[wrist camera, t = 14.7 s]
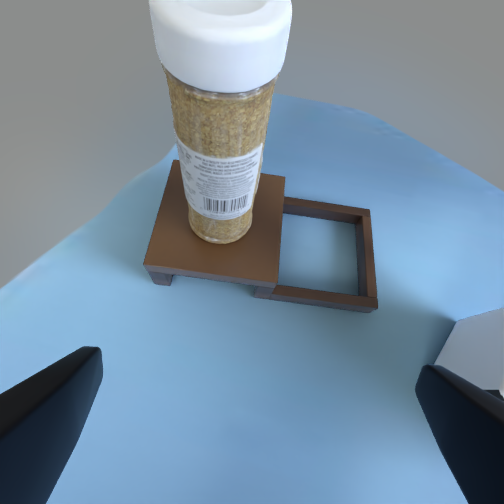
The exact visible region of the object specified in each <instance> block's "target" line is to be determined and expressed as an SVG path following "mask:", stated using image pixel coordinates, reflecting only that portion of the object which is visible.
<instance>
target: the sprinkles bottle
mask: <svg viewBox="0 0 504 504" xmlns="http://www.w3.org/2000/svg"><path fill="white" fill-rule="evenodd" d="M149 7H150V14H151V21H152V26H153V33H154V39H155V44H156V49H157V53H158V56H159V58H160V61H161V62H162V67H163V70H164V72H165V74H166V76H167V82H168V86H169V94H170V99H171V103H172V112H173V118H174V119H173V125H174V132H175V137H176V143H177V148H178V155H179V161H180V167H181V173H182V179H183V184H184V190H185V195H186V198H187V202H188V207H189V213H188V218H189V222H190V226H191V228H192V230H193V231H194V232H195V233H196V234H197V235H198V236H199V237H200V238H202V239H204V240H205V241H208V242H210V243H215V244H222V243H223V244H226V243H230V242H234V241H236V240H238V239H240V238H241V237H242V236H243V235H245V234H246V232H247V231H248V229H249V228H250V226H251V223H252V208H253V203H254V198H255V194H256V192H257V188H258V183H259V178H260V172H261V167H262V161H263V150H264V144H265V138H266V133H267V125H268V120H269V115H270V108H271V101H272V95H273V91H274V86H275V82H276V80H277V79H278V76H279V73H280V70H281V68H282V66H283V63H284V59H285V54H286V48H287V43H288V37H289V31H290V25H291V18H292V5H291V0H149Z"/></svg>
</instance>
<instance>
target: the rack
mask: <svg viewBox="0 0 504 504" xmlns="http://www.w3.org/2000/svg"><path fill="white" fill-rule="evenodd" d="M284 187H285V177H283V176H276V175H270V174H263V173H260V178H259V183H258V188H257V192H256V194H255V198H254V203H253V208H252V223H251V226H250V228H249V229H248V231H247V232H246V234H245V235H243V236H242V237H241V238H240V239H238V240H236V241H234V242H230V243H226V244H223V243H222V244H215V243H210V242H208V241H205V240H204V239H202V238H200V237H199V236H198V235H197V234H196V233H195V232H194V231H193V230H192V228H191V226H190V222H189V218H188V213H189V207H188V202H187V198H186V195H185V190H184V184H183V179H182V173H181V167H180V161H179V160H173V163H172V167H171V170H170V173H169V177H168V180H167V184H166V187H165V191H164V194H163V198H162V201H161V204H160V208H159V211H158V215H157V218H156V222H155V225H154V229H153V232H152V235H151V239H150V242H149V246H148V249H147V253H146V256H145V260H144V263H143V265H144V267H145V268H146V270H147V271H148V273H149V275H150V276H151V278H152V280H153V281H154V283H155V284H158V285H166V286H170V284H171V280H172V276H173V275H181V276H188V277H195V278H203V279H210V280H217V281H225V282H232V283H239V284H247V285H254V286H255V287H254V297H255V298H262V299H269V300H277V301H284V302H292V303H299V304H307V305H314V306H322V307H329V308H337V309H344V310H352V311H359V312H366V313H370V312H372V311H374V310H376V309H378V299H377V289H376V277H375V264H374V252H373V240H372V228H371V217H370V210H369V209H363V208H357V207H350V206H343V205H337V204H330V203H324V202H317V201H311V200H304V199H298V198H291V197H284ZM283 213H287V214H294V215H300V216H307V217H314V218H320V219H327V220H334V221H340V222H347V223H354V224H355V228H356V246H357V264H358V283H359V296H356V295H348V294H341V293H334V292H326V291H319V290H312V289H305V288H297V287H290V286H283V285H277V283H278V271H279V257H280V243H281V229H282V215H283Z"/></svg>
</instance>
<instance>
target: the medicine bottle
mask: <svg viewBox="0 0 504 504" xmlns="http://www.w3.org/2000/svg"><path fill="white" fill-rule="evenodd" d="M434 365H441V366H443V367H444V368H446V369H448V370H450V371H451V372H453V373H455V374H457V375H458V376H460V377H462V378H464V379H465V380H467V381H469V382H470V383H472V384H474V385H476V386H477V387H479V388H481V389H483V390H484V391H486V392H488V393H490V394H491V395H493V396H495V397H497V398H498V399H500V400H502V401H504V308H500V309H496V310H493V311H489V312H486V313H482V314H479V315H475V316H472V317H468V318H465V319H461V320H459V321H457V322H456V324H455V326H454V328H453V330H452V332H451V333H450V335H449V337H448V339H447V341H446V343H445V345H444V346H443V348H442V350H441V352H440V354H439V356H438V358H437V360H436V361H435V363H434Z"/></svg>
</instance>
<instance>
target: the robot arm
mask: <svg viewBox="0 0 504 504" xmlns="http://www.w3.org/2000/svg"><path fill="white" fill-rule="evenodd" d="M102 378H103V364H102V352H101V349H100V348H99V347H90V346H84V347H81V348H79V349H78V350H76V351H74V352H72V353H71V354H69V355H67V356H66V357H64V358H62V359H60V360H59V361H57V362H55V363H53V364H52V365H50V366H48V367H47V368H45V369H43V370H41V371H40V372H38V373H36V374H34V375H33V376H31V377H29V378H28V379H26V380H24V381H22V382H21V383H19V384H17V385H15V386H14V387H12V388H10V389H9V390H7V391H5V392H3V393H2V394H0V504H46V502H47V501H48V499H49V497H50V495H51V493H52V491H53V489H54V487H55V485H56V483H57V481H58V479H59V477H60V475H61V473H62V471H63V469H64V467H65V465H66V463H67V462H68V460H69V458H70V456H71V454H72V452H73V450H74V448H75V446H76V444H77V441H78V439H79V437H80V434H81V432H82V430H83V427H84V425H85V422H86V419H87V417H88V414H89V412H90V409H91V407H92V404H93V402H94V399H95V397H96V394H97V392H98V389H99V386H100V384H101V381H102ZM415 392H416V396H417V398H418V400H419V403H420V405H421V407H422V410H423V412H424V414H425V417H426V419H427V421H428V423H429V426H430V428H431V430H432V433H433V435H434V437H435V440H436V442H437V444H438V446H439V448H440V451H441V453H442V455H443V457H444V459H445V460H446V462H447V464H448V466H449V468H450V470H451V472H452V474H453V475H454V477H455V479H456V481H457V483H458V485H459V487H460V489H461V490H462V492H463V494H464V496H465V498H466V500H467V502H468V503H469V504H504V401H502V400H500V399H498V398H497V397H495V396H493V395H491V394H490V393H488V392H486V391H484V390H483V389H481V388H479V387H477V386H476V385H474V384H472V383H470V382H469V381H467V380H465V379H464V378H462V377H460V376H458V375H457V374H455V373H453V372H451V371H450V370H448V369H446V368H444V367H443V366H441V365H433V364H426V365H424V366H423V367H422V370H421V372H420V375H419V378H418V381H417V383H416V386H415Z"/></svg>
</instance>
